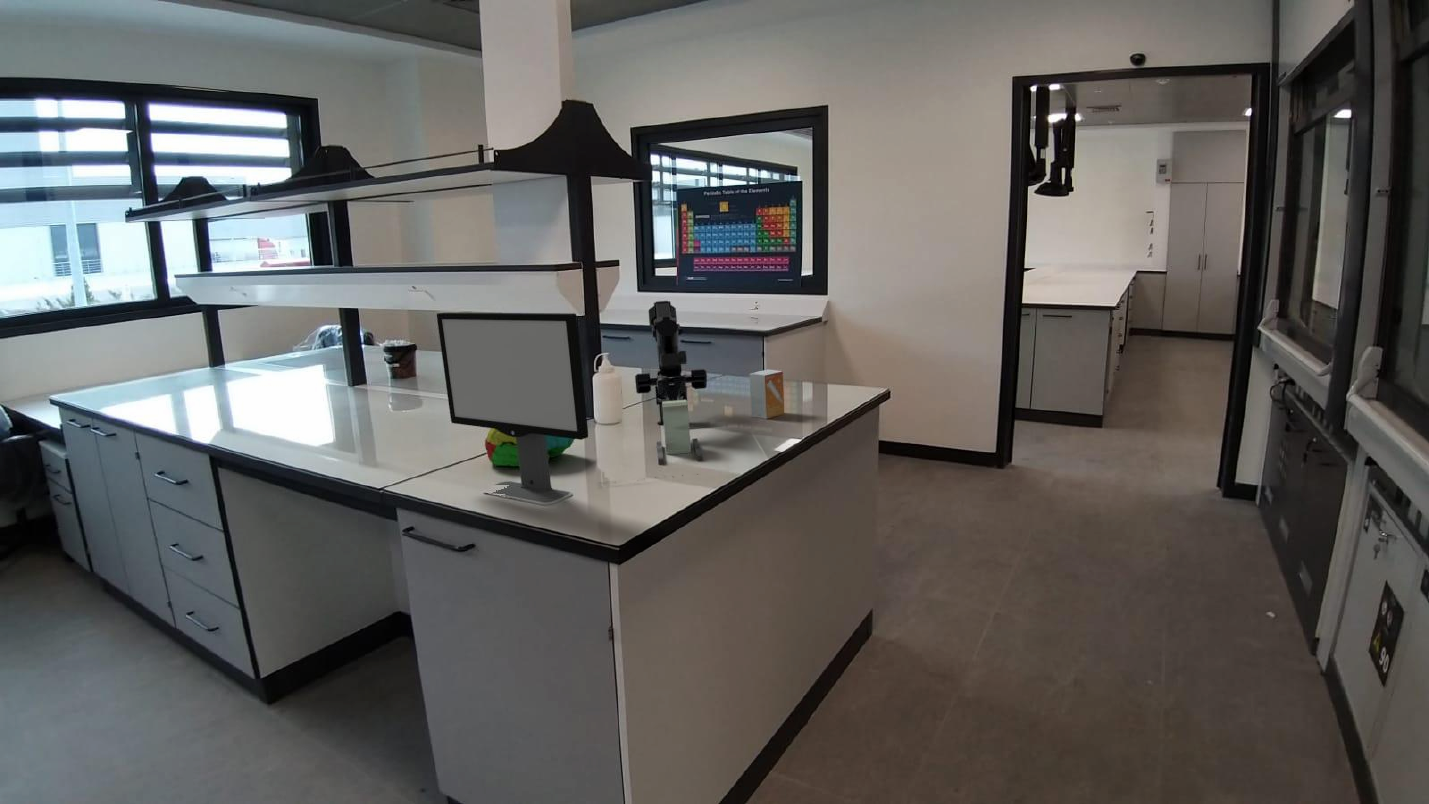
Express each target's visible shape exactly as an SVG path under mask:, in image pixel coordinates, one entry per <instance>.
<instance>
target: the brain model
mask: <svg viewBox="0 0 1429 804" xmlns="http://www.w3.org/2000/svg"><path fill="white" fill-rule="evenodd" d="M545 436H546V445H547V454H548V461H549V460H550V458H556V457H557V456H560V455H561V454H562V453H564V452H565V451H566V450H567V449H569V448H570V447H571V446H572V445H573V443H574V441H575V439H571V438H563V437H555V436H548V435H545ZM484 447H485V450H486V452H487V458H488V460H489V461H490V463H492V464H493V465H494V466H504V467H508V466H510V467H519V459H518V450H517V442H516V437H511V436H508V435H505V434H503V433H501V432H500V431H498V430H497V429H493V428H489V430H488V432H487V435H486V437H485V440H484Z"/></svg>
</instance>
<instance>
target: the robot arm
mask: <svg viewBox="0 0 1429 804" xmlns="http://www.w3.org/2000/svg"><path fill="white" fill-rule="evenodd" d="M677 319H678V317H677V309H676V307H675V306H674V305H672V304H671V301H669V300H660V301H659V300H658V301H655V302H653V306H652V307H650V308H649V309H648V320H649V322H648V323H649V327H651V334H652V339H655V342H656V349H657V350H656V352H657V358H658V361H657V362H658V372H657V375H656V377H651V373H650V372H646V373H645V372H644V373H643V372H642V373H636V375H635V376H634V379H635V381H634V382H635V389H636V391H635V392H636V393H637V394H639V395H640V394H649V393H650V392H652V387H654V389H655V403H656V406H657V405H658V407H659V408H658V409H659V417H660V418H659V420H660V421H657V423H656V424H657V425H663V426H664V419H663V406H662V402H665V401H677V400H686V401H687V402H688V389H687V388H688V387H687V386H686V385H687V384H689V383H690V384H691V388H693V389H694V390H703V389H706V388H707V384H708V383H707V382H708V373H707V370H706V369H705V368H695V369H690V374H682V373H683V371H682V365H686V364H687V363H688V359H687V351H686V350H679V337H681V335H682V334H683V333H684V330H683V327H682V326H681V325H680V323H678V321H677Z"/></svg>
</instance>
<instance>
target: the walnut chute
mask: <svg viewBox="0 0 1429 804" xmlns="http://www.w3.org/2000/svg"><path fill="white" fill-rule="evenodd" d="M698 440H699V439H698V437H696V438H692V440H691V441H692V445H693V449H694V453H695V456H696V461H697V462H703V460H704V459H703V453H702V450H701V447H700V443H699V441H698ZM662 446H663V445H662V441H656V449H657V450H656V452H657V460H658V466H661V465H664V454H663V447H662Z"/></svg>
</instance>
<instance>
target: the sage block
mask: <svg viewBox="0 0 1429 804" xmlns="http://www.w3.org/2000/svg"><path fill="white" fill-rule="evenodd" d="M662 406H663V419H664V425H663V430H664V443H665V452H666V453H665V454H666V455H677V454H678V455H679V454H687V453H689V454H690V453H692V448H691V447H692V445H691V434H690V419H689V418H690V417H689V406H688V400H687V401H686V400H677V401H665V402H662Z"/></svg>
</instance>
